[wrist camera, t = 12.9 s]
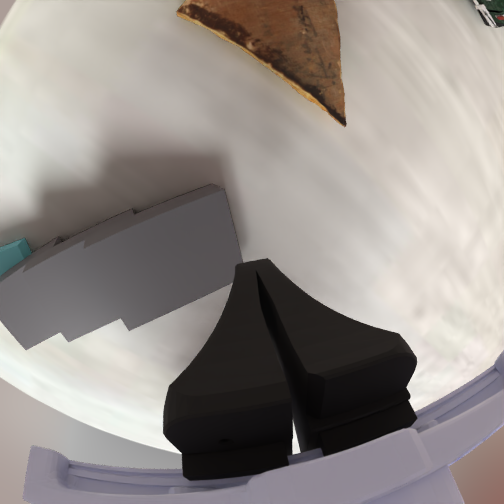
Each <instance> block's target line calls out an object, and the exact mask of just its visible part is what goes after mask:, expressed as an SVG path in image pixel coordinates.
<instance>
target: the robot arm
mask: <svg viewBox="0 0 504 504" xmlns="http://www.w3.org/2000/svg"><path fill="white" fill-rule="evenodd" d="M416 365H417V357H416V356H415V354H414V353H413V351H412V350H411V348H410V347H409V345H408V344H407V343H406V341H405V340H404V339H403V338H402V337H401V335H400V334H399V333H395V332H391V331H387V330H383V329H380V328H376V327H373V326H370V325H367V324H364V323H361V322H358V321H356V320H354V319H351V318H349V317H346V316H344V315H342V314H340V313H338V312H336V311H334V310H332V309H330V308H328V307H327V306H325V305H323V304H322V303H320V302H318V301H317V300H315V299H314V298H312V297H311V296H310V295H308V294H307V293H305V292H304V291H303V290H302V289H300V288H299V287H298V286H297V285H295V284H294V283H293V282H292V281H291V280H290V279H288V278H287V277H286V276H285V275H284V274H283V273H282V272H281V271H280V270H279V269H278V268H277V267H276V266H275V265H274V264H273V263H272V262H271V260H269V259H268V258H266V259H261V260H255V261H250V262H245V263H239V264H237V265H236V266H235V276H234V281H233V285H232V288H231V292H230V295H229V298H228V301H227V303H226V306H225V308H224V311H223V313H222V315H221V317H220V319H219V321H218V323H217V325H216V327H215V329H214V331H213V332H212V334H211V336H210V337H209V339H208V341H207V342H206V344H205V345H204V347H203V348H202V349H201V351H200V352H199V353H198V354H197V356H196V357H195V358H194V360H193V361H192V362H191V363H190V365H189V366H188V367H187V368H186V369H185V370H184V371H183V372H182V373H181V374H180V375H179V376H178V377H177V379H176V380H175V381H174V382H173V383H172V384H171V385H169V388H168V392H167V396H166V400H165V405H164V412H163V434H164V435H165V437H166V438H167V439H168V440H169V441H170V442H171V443H172V444H173V445H174V446H175V447H176V448H177V449H178V450H179V451H180V452H181V453H182V469H142V468H125V467H113V466H105V465H96V464H90V463H84V462H78V461H72V460H69V459H68V458H67V457H65V456H64V455H62V454H61V453H59V452H57V451H54V450H51V449H47V448H42V447H38V446H34V445H32V446H31V450H30V455H29V460H28V465H27V471H26V477H25V484H24V492H23V499H24V500H25V501H27V502H29V503H31V504H465V503H464V501H463V498H462V496H461V493H460V491H459V489H458V487H457V484H456V482H455V480H454V478H453V476H452V473H451V471H450V469H449V466H450V465H452V464H453V463H455V462H456V461H458V460H459V459H461V458H462V457H463V456H465V455H466V454H468V453H469V452H470V451H472V450H473V449H474V448H476V447H477V446H478V445H480V444H481V443H482V442H484V441H485V440H486V439H487V438H489V437H490V436H491V435H492V434H494V433H495V432H496V431H497V430H498V429H499V428H500V427H502V426H503V425H504V351H503V352H502V353H501V354H500V355H499V357H498V358H497V360H496V361H495V363H494V365H493V366H491V367H490V368H489V369H487V370H486V371H484V372H483V373H481V374H480V375H478V376H477V377H475V378H474V379H472V380H471V381H469V382H468V383H466V384H464V385H463V386H461V387H460V388H458V389H456V390H455V391H453V392H451V393H450V394H448V395H446V396H444V397H442V398H441V399H439V400H437V401H435V402H433V403H431V404H430V405H428V406H426V407H424V408H422V409H420V410H418V411H416V412H414V410H413V408H412V406H411V405H410V403H409V401H408V400H409V399H410V393H409V392H408V390H407V388H406V387H407V385H408V383H409V381H410V379H411V377H412V375H413V373H414V371H415V368H416ZM293 422H294V426H295V430H296V434H297V439H298V443H299V447H300V452H301V453H298V454H293V455H292V439H293Z"/></svg>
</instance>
